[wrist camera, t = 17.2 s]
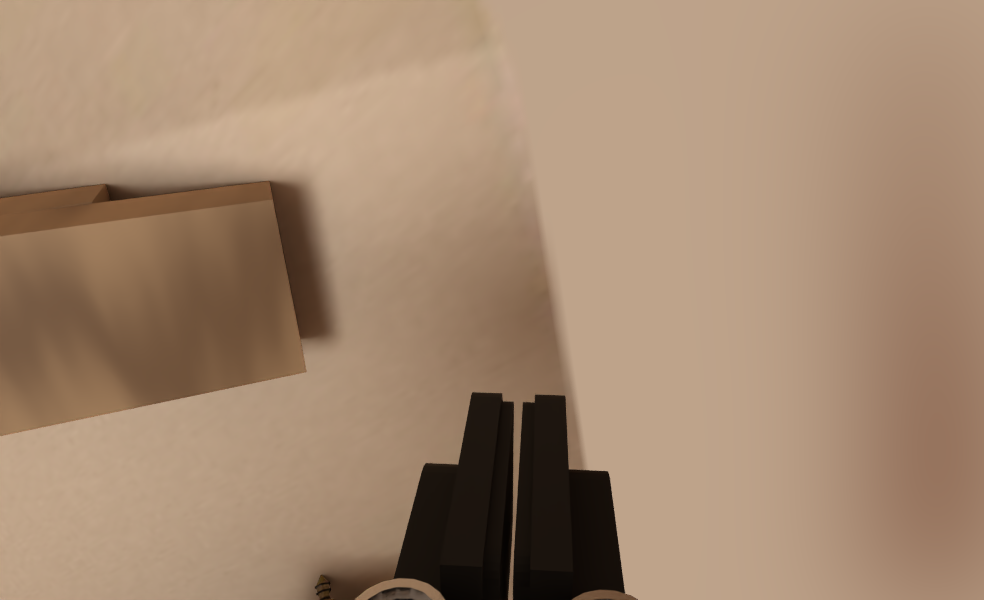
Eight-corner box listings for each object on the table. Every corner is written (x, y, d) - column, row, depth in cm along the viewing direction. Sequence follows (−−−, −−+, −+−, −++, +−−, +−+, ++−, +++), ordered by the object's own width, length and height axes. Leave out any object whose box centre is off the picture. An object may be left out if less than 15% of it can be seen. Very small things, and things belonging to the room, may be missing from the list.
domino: (306, 371, 18) (-73, 451, 16) (300, 340, 20) (-42, 407, 18) (272, 199, 16) (-171, 259, 14) (269, 181, 18) (-126, 231, 16)
